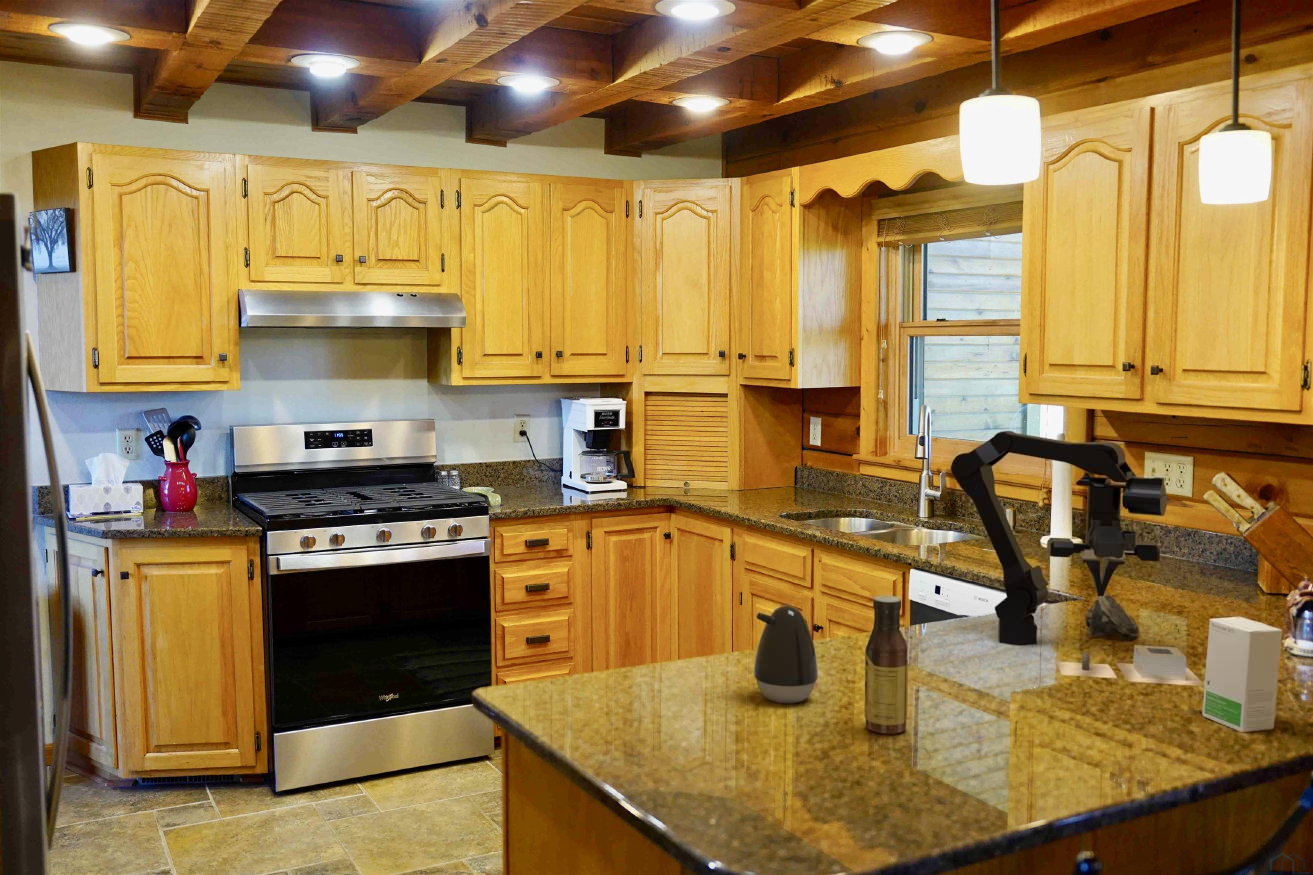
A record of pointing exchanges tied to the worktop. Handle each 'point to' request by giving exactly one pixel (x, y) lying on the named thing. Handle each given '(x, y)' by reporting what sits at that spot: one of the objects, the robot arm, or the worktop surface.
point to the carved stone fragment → (1110, 619)
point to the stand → (1085, 668)
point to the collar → (1159, 663)
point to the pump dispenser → (785, 657)
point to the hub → (1134, 677)
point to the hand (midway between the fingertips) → (1100, 595)
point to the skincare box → (1242, 673)
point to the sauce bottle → (886, 670)
